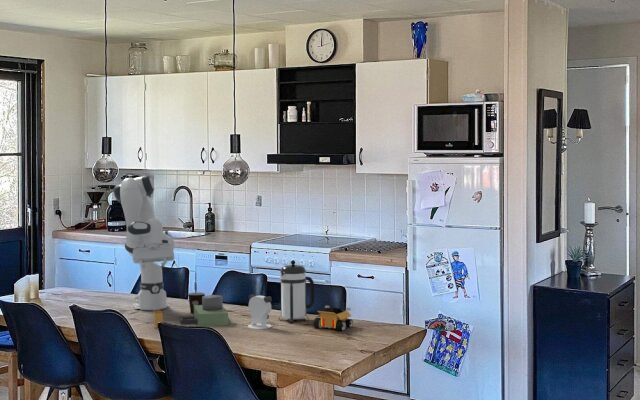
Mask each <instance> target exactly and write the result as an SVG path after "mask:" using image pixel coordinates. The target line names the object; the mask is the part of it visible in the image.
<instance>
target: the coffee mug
mask: <svg viewBox="0 0 640 400" xmlns="http://www.w3.org/2000/svg"><path fill="white" fill-rule="evenodd" d="M187 295H188V303H189V311H190V314H192V315H194V305H202V297H203V296H206V293H205V292H198V291H197V292H190V293H187Z"/></svg>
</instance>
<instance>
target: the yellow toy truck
mask: <svg viewBox="0 0 640 400" xmlns="http://www.w3.org/2000/svg"><path fill="white" fill-rule="evenodd" d="M324 308H325V311H323V310H322V311H321V310H317V313H318V315H317V316H316V317H315V318H314V319H313V327H314V329H323V328H325V329H326V328H327V329H336V331H339V332H345V330H346V328H348V327H351V328H353V325H354V320H353V319H351V317H352V315H351V314H350V312H349V311H351V310H352V308H351V307H346V308H345V310H343V309H341V308H337V307H333V308H332V307H330V305H325V306H324Z"/></svg>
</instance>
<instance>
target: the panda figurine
mask: <svg viewBox="0 0 640 400" xmlns="http://www.w3.org/2000/svg"><path fill="white" fill-rule="evenodd" d="M247 298H248V299H249V301H248V310H249V312H250V314H251V324H248V325H247V328H248V329H251V330H267V329H270V328H272V325H271V324H270V323H269V324H268V319H269V317H270V315H269V314H270V313H271V311H272V309H273V307H272V303H271V302H272V301H273V299H272V298H273V297H272V296H271V295H270V296H268V295H267V296H264V295H257V294H256V293H255V294H249V295H248V296H247Z"/></svg>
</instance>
